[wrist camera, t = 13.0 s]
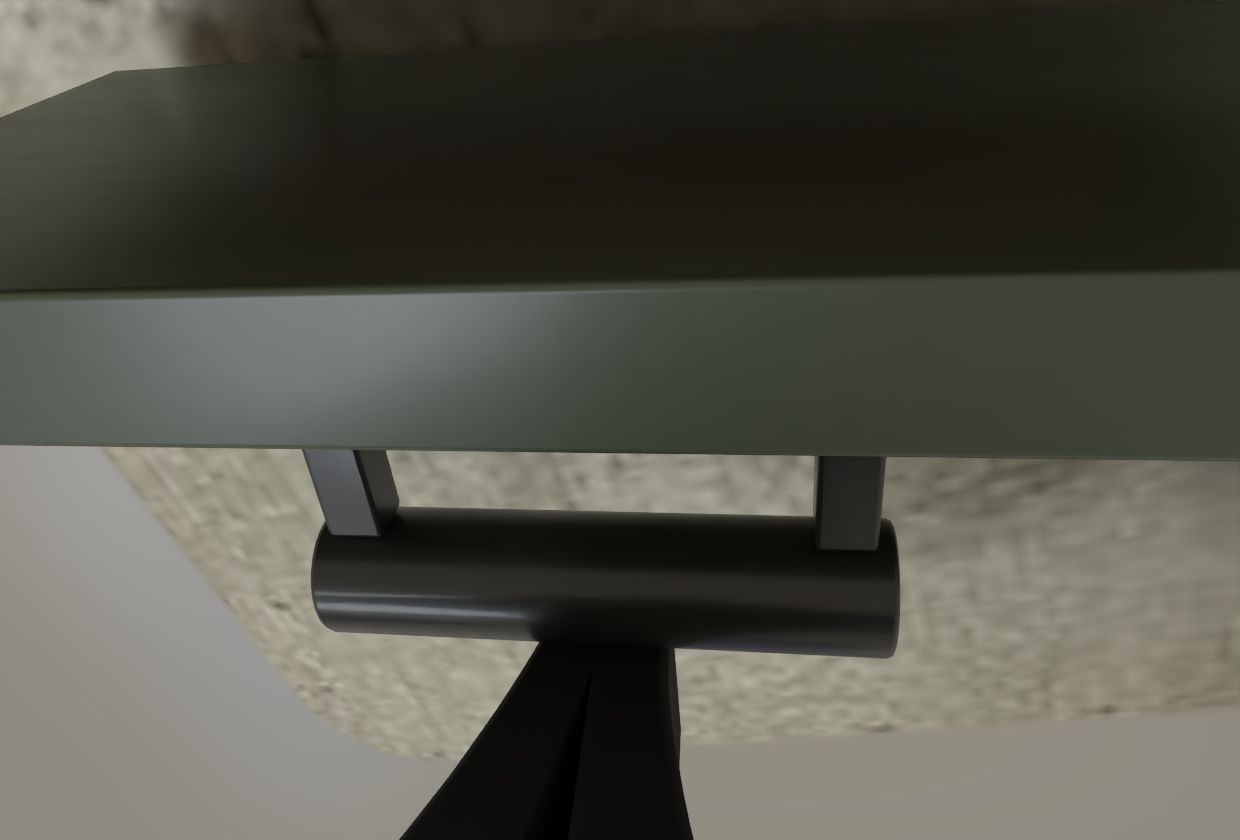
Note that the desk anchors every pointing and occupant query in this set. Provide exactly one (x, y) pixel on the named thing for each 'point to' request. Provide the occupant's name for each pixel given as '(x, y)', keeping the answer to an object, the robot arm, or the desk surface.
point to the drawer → (641, 292)
